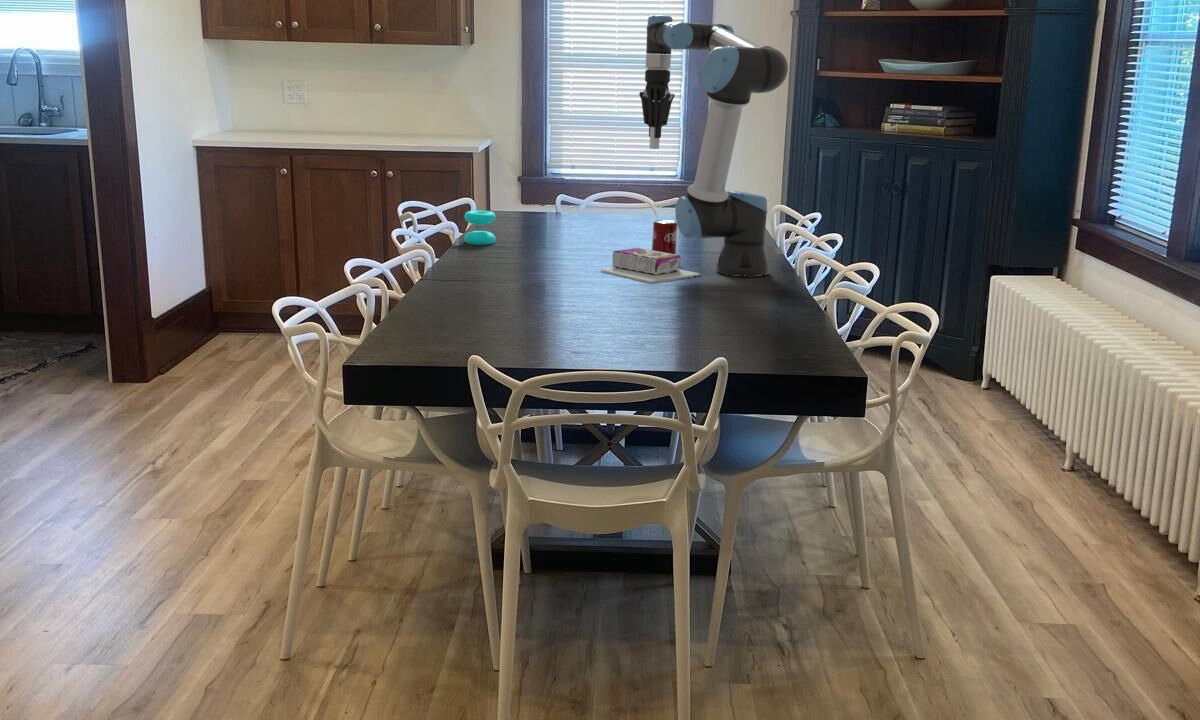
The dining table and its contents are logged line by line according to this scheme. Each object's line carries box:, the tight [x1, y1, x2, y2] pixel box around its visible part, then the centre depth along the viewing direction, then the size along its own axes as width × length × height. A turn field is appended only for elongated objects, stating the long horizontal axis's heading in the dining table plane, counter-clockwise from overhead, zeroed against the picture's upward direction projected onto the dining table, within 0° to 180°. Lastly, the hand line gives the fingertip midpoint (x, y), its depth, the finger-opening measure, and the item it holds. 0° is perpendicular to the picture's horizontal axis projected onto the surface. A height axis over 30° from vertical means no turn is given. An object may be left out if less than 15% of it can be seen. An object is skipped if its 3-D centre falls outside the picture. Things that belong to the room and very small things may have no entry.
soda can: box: [651, 219, 678, 255], centre depth 338 cm, size 7×7×12 cm
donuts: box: [464, 210, 497, 246], centre depth 359 cm, size 10×10×10 cm
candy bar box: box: [612, 247, 681, 275], centre depth 321 cm, size 11×5×16 cm
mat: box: [600, 267, 702, 284], centre depth 319 cm, size 20×20×1 cm
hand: (654, 148), depth 343 cm, fingers closed
